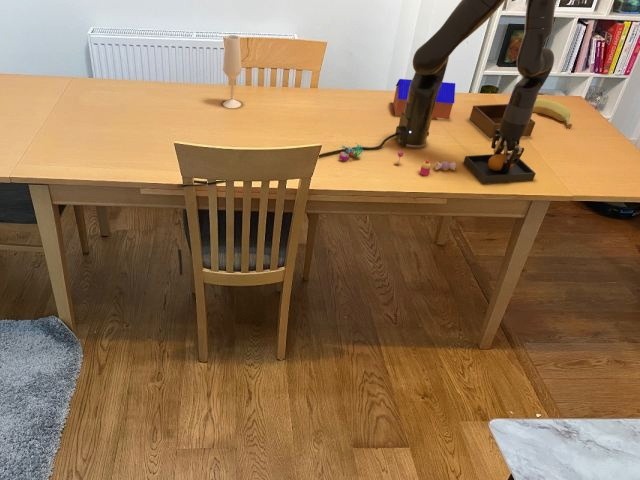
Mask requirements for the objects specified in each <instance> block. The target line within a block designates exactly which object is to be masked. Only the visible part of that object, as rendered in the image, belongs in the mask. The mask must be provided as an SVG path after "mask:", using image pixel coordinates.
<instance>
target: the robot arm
mask: <svg viewBox="0 0 640 480" xmlns="http://www.w3.org/2000/svg"><path fill="white" fill-rule="evenodd" d="M505 1H506V0H461V1H460V2H458V4H457V6H456V7H455V8H454V9H453V10H452V11H451V13H450V14H449V16H448V17H447V18H446V20H445V22H444V23H443V24H442V26H440V28H439V29H438V30H437V31H436V32H435V33H434V34H433V35H432V36H431V37H430V38H428V40H427V41H426V42H424V43H423V44H422V45H421V46H419V48H417V49H416V51H415V52H414V54H413V57H412V67H413V70H414V74H413V76H412V79H411V80H412V81H411V83H410V87H409V92H408V96H407V101H406V105H405V110H404V112H403V113H401V117H400V116H399V121H398V125H396V127H395V133H393V134H391V135H389V136H387V137H386V138H385V139H384V140H383V141H382V142H381V143H380V144H379V145H378V146H372V147H367V146H362V148H361V147H360V146H359V147H360V149H359V150H362V149H363V151H365V150H366V151H375V150H379V149H381V148H382V147H384V145H385V144H386V142H388V141H389V140H391V139H392V138H394V137H395V140H396V141H397V142H398V143H399V145H400V146H401V147H403V148H409V149H421V148H423V147H425V146H426V145H427V141H428V140H427V139H428V136H429V135H430V127H431V124H432V120H433V119H432V115H433V111H434V107H435V103H436V99H437V95H438V92H439V89H440V87H441V84H442V82H443V81H444V79H445V75H446V71H447V67H448V63H449V59H450V56H451V54H452V53H453V52H454V51H455V49H457V47H458V46H459V45H461V44H462V43H463V42H465V40H466V39H467V38H469V37H470V36H471V35H472V34H474V33H475V32H476V31H477V30H478V29H479V28H480V27H481V26H483V25H484V24H485V23H486V22H487V21H488V20H489V19H490V18H491V17H492V15H494V14H495V13H496V12H497V10H498V9H499V8H500V7H501V6H502V5H503V4H504V2H505ZM526 2H527V3H526V8H525V18H524V33H523V36H522V40H521V43H520V46H519V49H518V53H517V58H516V68H517V71H518V74H519V75H520V76H521V77H522V78H521V79H520V80H518V82H516V83H515V84H514V86H513V88H512V91H511V94H510V97H509V99H508V103H507V104H508V105H507V107H506V109H505V112H504V116H503V118H502V122H501V125H500V128H499V129H496V130H494V135H493V138H492V140H491V146H490V147H491V149H493V154H494V155H497V154H504V155H505V159H504V162H503V165H502V168H501V171H500V172H501V173H502V174H505V173H508V171H509V168H510V166H511V164H517V162H518V161H519V159H521V157H522V155H523V153H524V152H525V148H524V147H521V145H520V144H521V143H520V142H521V138H522V137H525V136H524V134H525V132H526V129H527V127H528V124H529V121H530V118H531V119H532V115H533V113H534V112H533V108H534V105H535V102H536V99H538V96H539V93H540V91H541V89H542V87H543V86H544V84H545V82H546V81H547V80H548V78H549V76H550V74H551V72H552V70H553V68H554V64H555V54H554V52H553V50H552V49H551V48H550V47H545V46H544V45H545V42H546V40H548V38H550V37H551V36H552V33H553V29H554V28H553V27H554V18H555V7H556V0H527V1H526ZM356 147H357V146H353V147H351V148H352V149H356ZM342 149H343V148H341V149H337V150H332V151H327V152H324V153H320V155H319V154H318V155H319V157H318V158H322V157H325V156H330V155H334V154H340V153H341V152H344V153H345V152H346V150H344V149H343V150H342ZM347 150H348V149H347ZM508 156H510V159H508ZM514 159H515V160H514ZM193 180H194V183H193V184H200V185H208V184H207V181H208V180H197V179H193ZM222 182H224V181H216V183H222ZM181 187H182V188H184V187H185V186H184V185H183V184H182V185H181ZM177 251H178V253H177V254H178V265H179V275H180V276H183V258H182V257H183V256H182V250H181V249H180V248H179V249H178V250H177Z"/></svg>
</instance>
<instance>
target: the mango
mask: <svg viewBox="0 0 640 480" xmlns="http://www.w3.org/2000/svg"><path fill="white" fill-rule="evenodd" d="M504 159H505V155H504V153H502V154H497V155H493V156H492V157H491V158H490V159H489V161H488V166H489V168H490V169H491V170H492V171H501V168H502V165H503V162H504ZM508 159H510V156H508ZM513 165H514V164H511V166H510V168H509V170H510V169H511V168H512V167H513Z"/></svg>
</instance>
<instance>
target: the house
mask: <svg viewBox="0 0 640 480" xmlns="http://www.w3.org/2000/svg"><path fill="white" fill-rule="evenodd" d="M411 81H412V79H407V78H399V79H398V81H397V83H396V84H395V93H394V98H393V102H392V105H393V110H394V116H395V117H399V118H400V117H401V113H403V112H404V110H405V105H406V101H407V96H408V92H409V87H410V83H411ZM455 97H456V83H455V82H445V81H444V82H442V84H441V87H440V89H439V92H438V95H437V99H436V103H435V107H434V111H433V115H432V119H431V120H438V119H450V116H451V112H452V109H453V105H454V104H455Z"/></svg>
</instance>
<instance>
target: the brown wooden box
mask: <svg viewBox="0 0 640 480" xmlns="http://www.w3.org/2000/svg"><path fill="white" fill-rule="evenodd" d="M507 105H508V103H500V104H499V103H498V104H479V105H473V106H472V109H471V112H470V115H469V120H470V121H471V122H472V123H473V124H474V125H475V126H476V127H477V128H479V130H480V131H482V132H483V133H484V135H486V136H487V137H488V138H489V139H493V135H494V130H496V129H499V128H500V125H501V122H502V118H503V116H504V112H505V109H506V107H507ZM535 125H536V121H535V120H534V119H532V117H531V118H530V121H529V124H528V127H527V129H526V132H525V134H524V136H523V137H531V136H532V133H533V130H534V128H535Z"/></svg>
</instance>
